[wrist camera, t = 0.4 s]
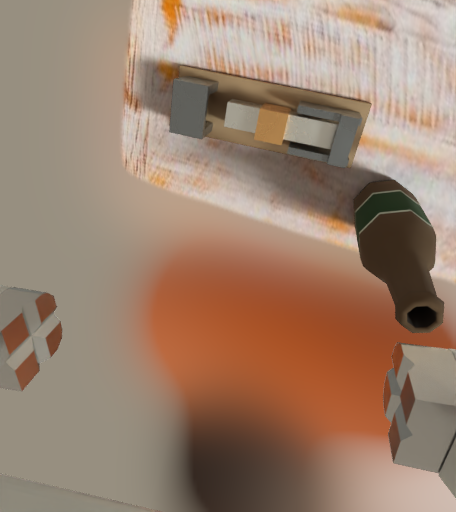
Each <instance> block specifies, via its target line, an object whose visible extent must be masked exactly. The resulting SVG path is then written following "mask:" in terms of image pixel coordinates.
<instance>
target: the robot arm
mask: <svg viewBox="0 0 456 512" xmlns="http://www.w3.org/2000/svg"><path fill="white" fill-rule="evenodd" d="M56 308H57V306H56V302H55V299H54V296H53V295H51V294H49V293H46V292H40V291H34V290H28V289H22V288H16V287H8V286H3V285H0V388H3V389H10V390H16V391H23V390H24V388H25V387H26V386H27V385H28V384H29V383H30V382H31V380H32V379H33V378H34V376H36V374H37V373H38V372H39V371H40V363H41V362H43V361H45V360H47V359H49V358H51V357H52V356H53V354H54V353H55V352H56V351H57V349H58V347H59V345H60V342H61V339H62V326H61V321H60V320H59V319H58V318H57V317H56V316H55V315H54V311H55V310H56ZM392 361H393V366H394V368H392V369H391V370H390V371H388V372H387V374H386V379H385V383H384V393H383V403H384V411H385V416H386V417H387V418H388V420H389V421H390V422H391V426H390V429H389V433H388V436H389V442H390V447H391V453H392V459H393V463H395V464H399V465H404V466H408V467H413V468H417V469H422V470H426V471H431V472H435V473H439V477H440V478H441V479H442V481H443V482H444V483H445V485H446V486H447V487H448V488H449V490H450V491H451V492H452V494H453V495H454V496H455V498H456V350H455V349H442V348H435V347H427V346H420V345H413V344H405V343H398V342H397V344H396V346H395V347H394V350H393V353H392ZM0 512H162V511H158V510H154V509H149V508H145V507H141V506H137V505H132V504H128V503H124V502H119V501H116V500H111V499H107V498H103V497H99V496H94V495H90V494H86V493H81V492H77V491H73V490H69V489H64V488H60V487H56V486H51V485H48V484H44V483H39V482H35V481H31V480H27V479H22V478H18V477H14V476H10V475H6V474H1V473H0Z"/></svg>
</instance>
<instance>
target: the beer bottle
mask: <svg viewBox="0 0 456 512" xmlns="http://www.w3.org/2000/svg"><path fill="white" fill-rule="evenodd" d="M354 219H355V229H356V235H357V241H358V247H359V253H360V258H361V261H362V264H363V266H364V267H365V268H366V269H367V270H368V271H370V272H371V273H372V274H374V275H375V276H376V277H378V278H379V279H381V280H382V281H383V282H385V283H386V284H387V286H388V288H389V291H390V293H391V296H392V299H393V301H394V304H395V316H396V317H395V318H396V320H397V321H398V322H399V323H400V324H401V325H402V326H403V327H405V328H406V329H408V330H409V331H411V332H412V333H428V332H431V331H433V330H434V329H435V328H437V327H438V326H440V325H441V324H442V323H443V313H444V302H443V301H442V300H441V299H439V298H438V297H437V295H436V292H435V288H434V286H433V282H432V279H431V276H430V273H429V271H430V270H431V269H432V268H433V267H434V264H435V252H436V234H435V232H434V229H433V227H432V225H431V223H430V222H429V220H428V218H427V216H426V215H425V213H424V211H423V210H422V208H421V206H420V205H419V203H418V201H417V199H416V198H415V197H414V195H413V194H412V193H411V192H409V191H408V190H407V189H406V188H404V187H403V186H402V185H400V184H399V183H398V182H396V181H395V180H388V181H380V182H371V183H369V184H368V185H367V186H366V187H365V188H364V189H363V190H362V191H361V192H360V193H359V195H358V196H357V197H356V198H355V199H354Z"/></svg>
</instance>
